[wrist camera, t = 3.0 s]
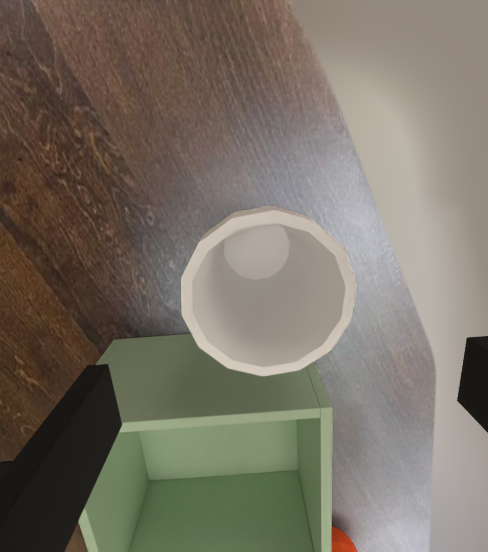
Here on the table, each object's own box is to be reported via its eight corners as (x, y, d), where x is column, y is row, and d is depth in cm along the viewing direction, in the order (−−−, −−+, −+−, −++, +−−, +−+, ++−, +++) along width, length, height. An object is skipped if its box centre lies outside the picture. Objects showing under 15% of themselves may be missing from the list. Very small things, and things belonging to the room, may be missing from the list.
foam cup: (244, 312, 32) (247, 402, 19) (183, 236, 29) (143, 284, 17) (327, 256, 30) (388, 315, 18) (270, 171, 28) (294, 171, 15)
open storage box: (300, 325, 32) (332, 407, 21) (303, 468, 38) (331, 593, 27) (113, 339, 32) (47, 428, 21) (145, 480, 38) (106, 609, 27)
